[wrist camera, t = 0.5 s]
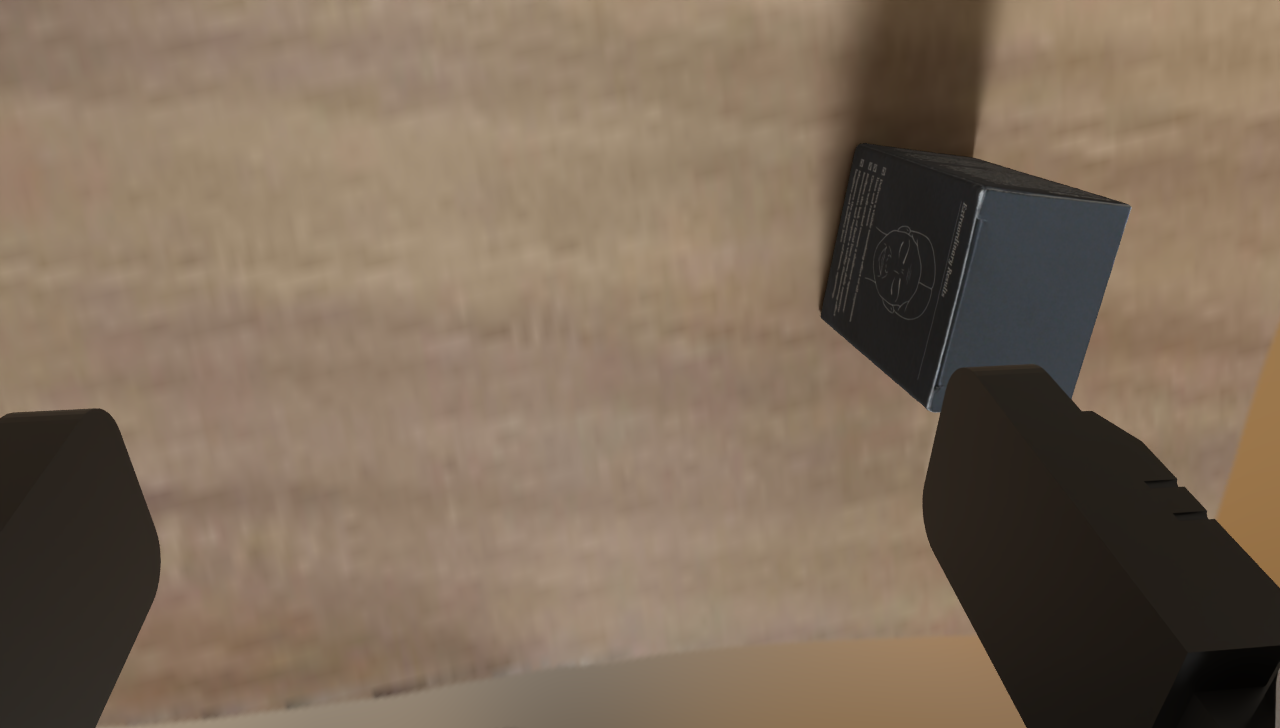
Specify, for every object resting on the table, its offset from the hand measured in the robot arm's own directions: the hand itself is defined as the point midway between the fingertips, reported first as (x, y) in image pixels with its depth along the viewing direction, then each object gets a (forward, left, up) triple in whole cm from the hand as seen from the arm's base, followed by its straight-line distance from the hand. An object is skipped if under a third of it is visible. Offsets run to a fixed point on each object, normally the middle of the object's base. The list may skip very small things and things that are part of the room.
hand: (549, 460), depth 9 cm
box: (+6, +17, -29) cm, 34 cm away
